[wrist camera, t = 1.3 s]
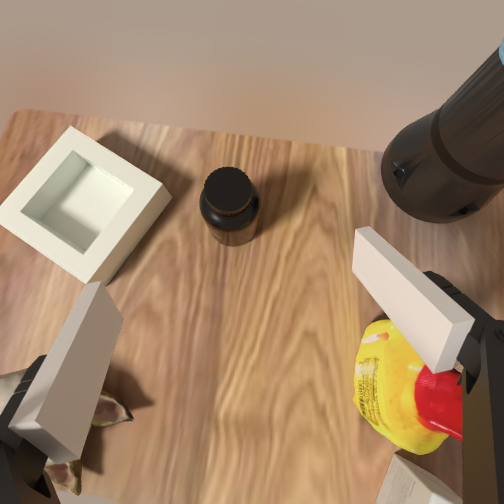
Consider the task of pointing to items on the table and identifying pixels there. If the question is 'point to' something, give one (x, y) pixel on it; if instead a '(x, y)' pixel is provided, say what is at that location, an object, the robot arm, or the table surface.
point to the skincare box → (413, 486)
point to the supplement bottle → (230, 206)
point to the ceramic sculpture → (104, 415)
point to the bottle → (405, 392)
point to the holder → (84, 207)
